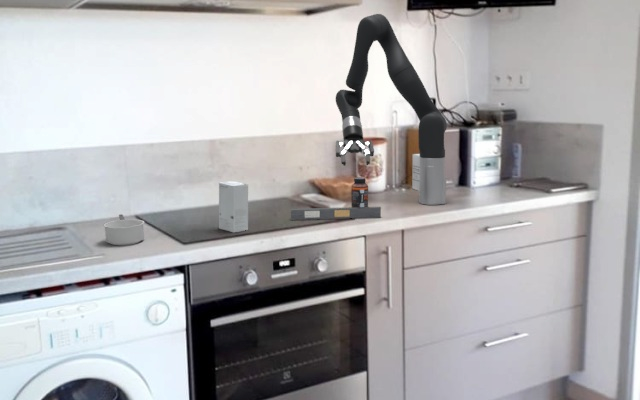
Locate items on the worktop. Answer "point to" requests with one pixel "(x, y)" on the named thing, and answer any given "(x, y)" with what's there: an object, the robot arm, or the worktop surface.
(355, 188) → the supplement bottle
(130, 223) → the saucepan
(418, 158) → the supplement box
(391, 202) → the worktop surface
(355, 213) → the price rail
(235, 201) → the skincare box
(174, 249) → the worktop surface
